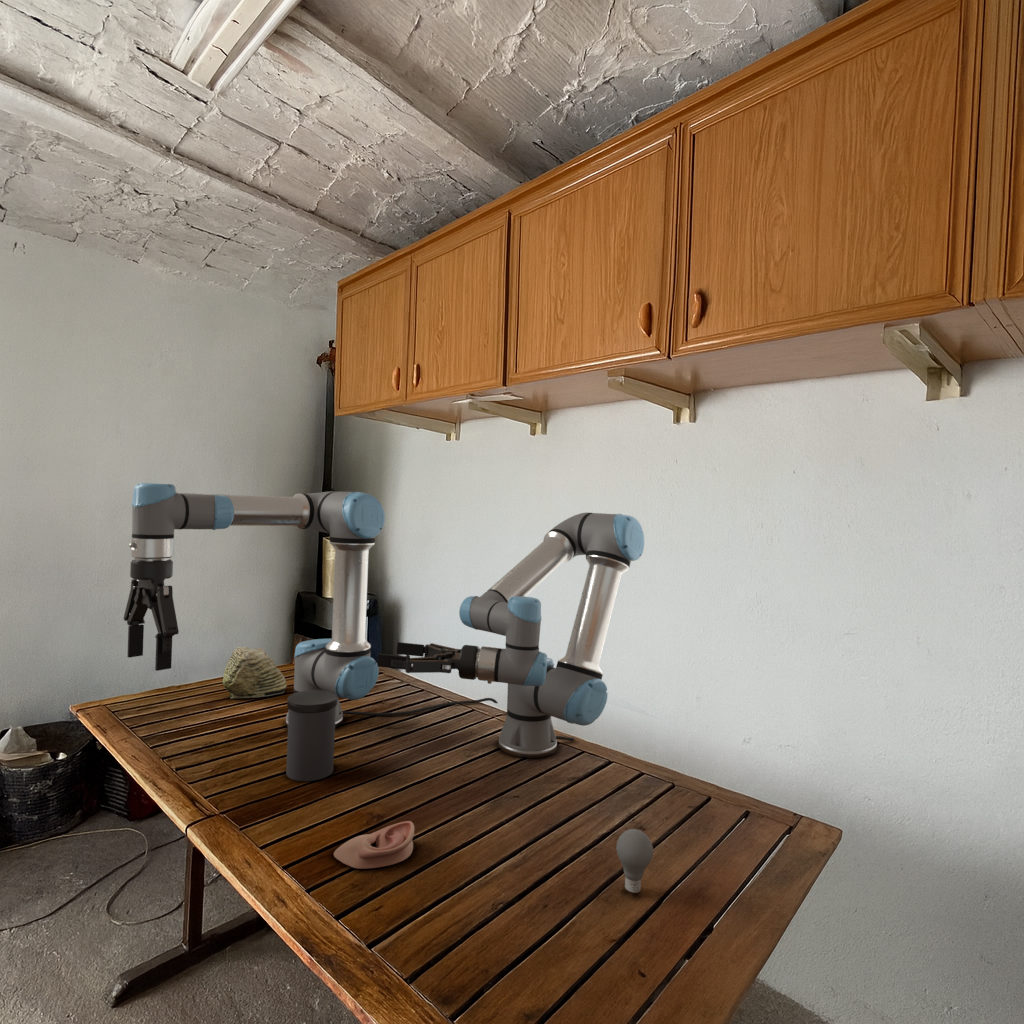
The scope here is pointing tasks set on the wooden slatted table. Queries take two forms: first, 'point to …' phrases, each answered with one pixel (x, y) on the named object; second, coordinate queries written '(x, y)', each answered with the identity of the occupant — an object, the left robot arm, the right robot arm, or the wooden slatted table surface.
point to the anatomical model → (378, 847)
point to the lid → (312, 701)
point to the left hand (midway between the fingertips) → (148, 662)
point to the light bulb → (634, 857)
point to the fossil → (252, 674)
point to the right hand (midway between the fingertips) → (387, 653)
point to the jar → (310, 745)
